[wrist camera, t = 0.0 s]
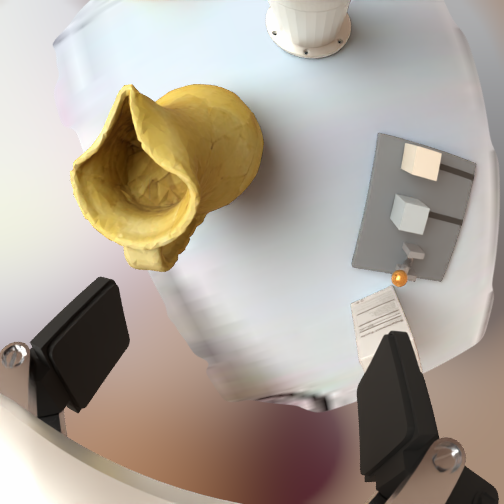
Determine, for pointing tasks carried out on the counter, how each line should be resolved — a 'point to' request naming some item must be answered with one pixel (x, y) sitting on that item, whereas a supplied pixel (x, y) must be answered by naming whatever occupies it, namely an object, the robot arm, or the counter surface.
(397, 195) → the white cube
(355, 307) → the supplement box
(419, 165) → the cream slider
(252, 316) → the counter surface
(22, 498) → the robot arm
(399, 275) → the lever
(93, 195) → the pitcher
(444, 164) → the panel
